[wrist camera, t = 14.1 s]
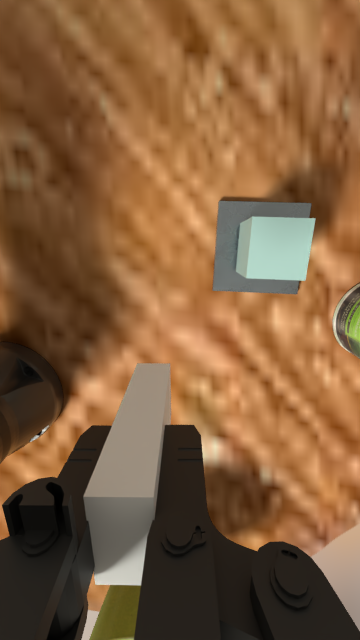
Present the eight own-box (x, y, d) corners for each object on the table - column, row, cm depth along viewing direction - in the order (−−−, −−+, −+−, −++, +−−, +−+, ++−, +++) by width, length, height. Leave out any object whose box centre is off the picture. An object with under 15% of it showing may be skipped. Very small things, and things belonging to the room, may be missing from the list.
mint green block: (235, 271, 30) (246, 278, 23) (240, 223, 28) (252, 216, 22) (282, 273, 30) (305, 280, 23) (288, 224, 28) (315, 218, 22)
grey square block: (212, 289, 32) (217, 302, 25) (218, 202, 30) (225, 187, 22) (294, 292, 32) (324, 307, 24) (308, 204, 29) (347, 189, 22)
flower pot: (227, 533, 43) (243, 692, 28) (165, 573, 47) (150, 733, 31) (162, 479, 41) (141, 619, 26) (102, 526, 45) (52, 673, 29)
